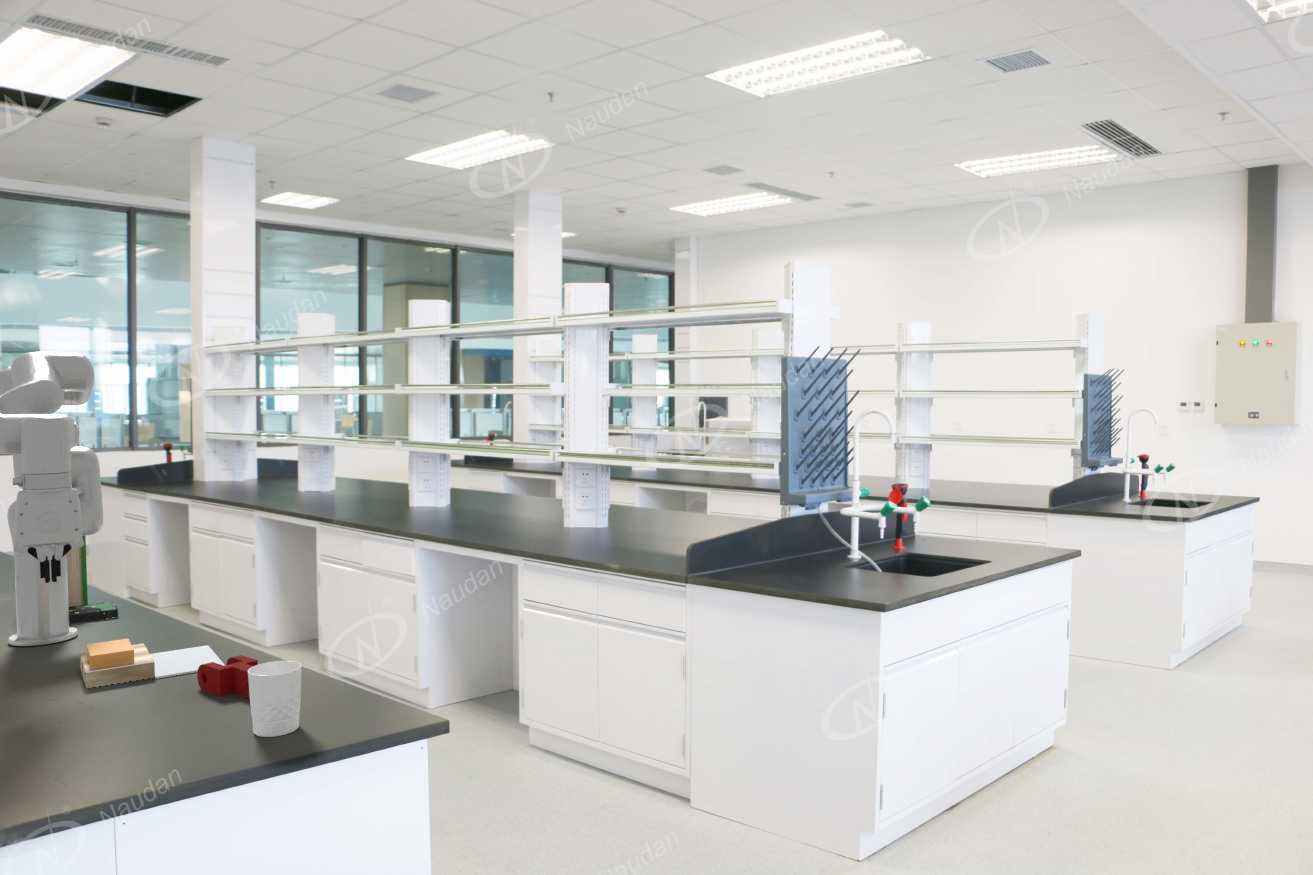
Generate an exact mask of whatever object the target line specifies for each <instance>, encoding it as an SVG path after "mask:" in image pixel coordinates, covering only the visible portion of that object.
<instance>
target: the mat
mask: <svg viewBox="0 0 1313 875" xmlns="http://www.w3.org/2000/svg"><path fill="white" fill-rule="evenodd" d="M150 655H151V657H152V659H153V660H154V663H155V678H154V679H155V680H157V679H164V678H165V679H166V678H172V677H176V675H177V676H182V675H188V673H189V674H196V673H197V672H198V668H199V666H200V665H202V664H206V663H210V662H214V663H217V664H220V665H223V666H225V665H226V664H225V663H224V662H223V661H222V660H221V659H220V658H219V656H218V655H217V654H216V653H215V651H214V650H213V649H212V648H211V646H209V645H202V646H201V645H200V646H194V647H188V648H181V649H174V650H173V649H172V650H167V651H160V652H154V653H153V652H152V653H150Z"/></svg>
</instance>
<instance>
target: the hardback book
mask: <svg viewBox="0 0 1313 875" xmlns="http://www.w3.org/2000/svg"><path fill="white" fill-rule="evenodd" d="M86 536H87V535H86ZM86 536H82V538H83V541H84V546H82V547H79V548H76V549H72V550H70V551H69V552H68V553H67V554H66V555H65V556H66V559H67V575H68V604H69V607H72V606H80V605H88V604H89V602H88V572H87V544H86V543H87V542H86ZM65 544H67V543H65ZM65 544H64V545H65Z"/></svg>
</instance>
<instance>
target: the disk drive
mask: <svg viewBox="0 0 1313 875" xmlns="http://www.w3.org/2000/svg"><path fill="white" fill-rule="evenodd" d="M112 617H118V618H119V608H118V606H117V605H116V604H115V601H109V602H108V601H107V602H99V603H98V602H97V603H91V604H89V603H88V605H80V606H72V607H69V625H72V624H81V623H88V622H95V621H102V620H101V619H104V620H107V619H106V618H112ZM112 619H113V618H112Z"/></svg>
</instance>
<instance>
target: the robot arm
mask: <svg viewBox="0 0 1313 875" xmlns="http://www.w3.org/2000/svg"><path fill="white" fill-rule="evenodd" d="M94 384H95V371H94V367H93V364H92V362H91V360H90V359H89V358H88V357H87V356H86V355H85V354H83V353H80V352H70V351H69V352H65V351H60V352H59V351H58V352H57V351H30V352H25V353H22V354H21V355H18V356H17V357H16V358H15V359H14V360H13V361H12V363H11V367H9V368H5V369H2V370H1V371H0V454H1V455H12V463H13V466H12V468H13V476H14V477H13V478H12V486H17V487H19V489H21V490H20V491H17V495H16V500H15V501H13V502H12V503H10V505H9V507H8V510H7V523H8V527H9V532H10V537H11V541H12V548H13V562H14V587H15V588H14V590H15V609H16V611H15V614H16V633H14V634H12V635H11V636H9V637H8V644H9V645H11V646H16V647H33V646H34V647H35V646H44V645H51V644H55V643H59V642H60V643H61V642H65V641H67V640H70V639H73V638H75V637H76V636H78V632H79V630H78V628H76V627H75V626H70V624H69V604H68V575H67V559H66V556H65V555H66V554H67V553H68V552H69V551H70V550H72V549H76V548H79V547H82V546H84V541H83V538H82V536H91V535H95V534H98V533H99V532H100V531H101V529H102V527H103V524H104V507H103V494H102V493H103V492H102V480H101V469H100V463H99V462H100V461H99V459H98V455H97V453H96V452H95V451H94V450H93V449H92V448H89V447H86V446H85V447H84V446H76V444H78V443H79V439H80V430H79V429H80V428H79V425H78V423H77V422H76V421H75V420H74V418H73V417H72V416H70V415H67V414H60V413H56V412H57V411H58V410H60V408H61V407H62V406H80V405H83V404H85V403H87V402H88V401H89V400H90V397H91V396H92V395H91V393H92V390H93V387H94ZM65 543H67V544H65ZM64 544H65V545H64Z"/></svg>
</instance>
